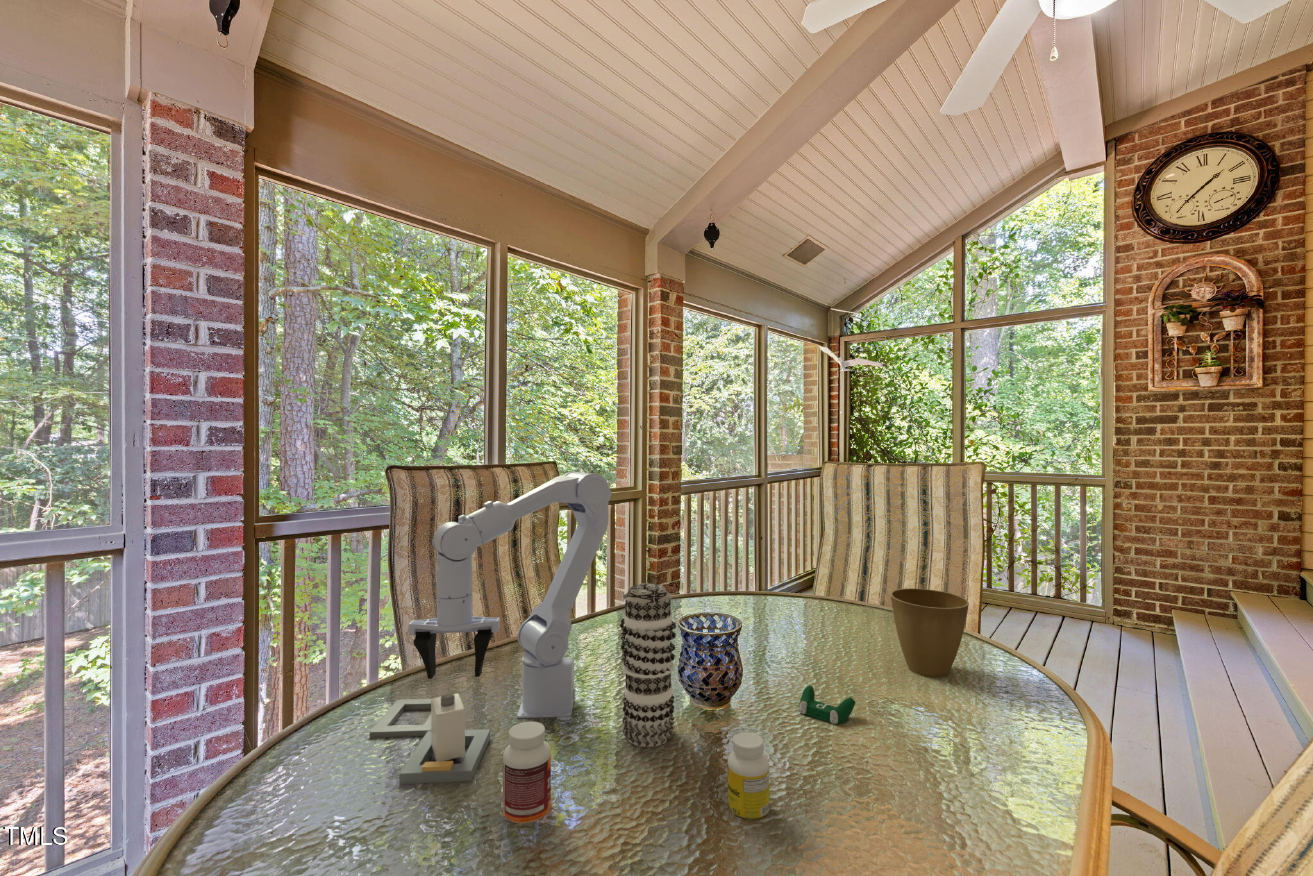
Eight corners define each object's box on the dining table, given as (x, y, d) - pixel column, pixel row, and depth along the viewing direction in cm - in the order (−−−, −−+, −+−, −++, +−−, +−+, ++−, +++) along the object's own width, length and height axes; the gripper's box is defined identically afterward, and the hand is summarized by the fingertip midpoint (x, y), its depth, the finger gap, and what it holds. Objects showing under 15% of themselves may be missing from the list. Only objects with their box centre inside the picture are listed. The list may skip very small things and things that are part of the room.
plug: (458, 737, 92) (457, 687, 92) (464, 755, 87) (464, 701, 87) (431, 743, 90) (431, 692, 90) (436, 762, 85) (436, 707, 85)
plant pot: (891, 681, 118) (890, 602, 118) (891, 656, 131) (890, 585, 132) (974, 693, 112) (973, 610, 112) (965, 665, 126) (964, 591, 126)
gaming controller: (808, 703, 108) (792, 715, 103) (807, 683, 108) (792, 694, 103) (856, 718, 102) (843, 732, 97) (856, 697, 102) (843, 709, 97)
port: (490, 741, 94) (490, 725, 94) (471, 785, 82) (471, 766, 82) (427, 743, 94) (427, 727, 94) (399, 787, 82) (399, 769, 82)
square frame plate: (452, 704, 108) (452, 698, 108) (431, 737, 96) (431, 730, 96) (397, 706, 107) (397, 699, 107) (369, 739, 95) (369, 732, 95)
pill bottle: (558, 818, 75) (558, 733, 75) (512, 836, 72) (512, 747, 72) (540, 794, 80) (540, 714, 80) (496, 809, 77) (496, 726, 77)
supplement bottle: (724, 802, 78) (723, 730, 78) (763, 800, 79) (763, 728, 79) (732, 829, 73) (732, 751, 73) (774, 826, 73) (774, 749, 73)
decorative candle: (657, 760, 89) (657, 597, 89) (609, 744, 94) (608, 589, 94) (686, 734, 96) (686, 584, 97) (640, 720, 101) (639, 577, 101)
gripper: (502, 587, 102) (503, 664, 102) (417, 589, 101) (418, 667, 101) (495, 598, 95) (495, 681, 95) (403, 601, 94) (404, 685, 94)
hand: (455, 675), depth 97 cm, fingers open, 7 cm apart
